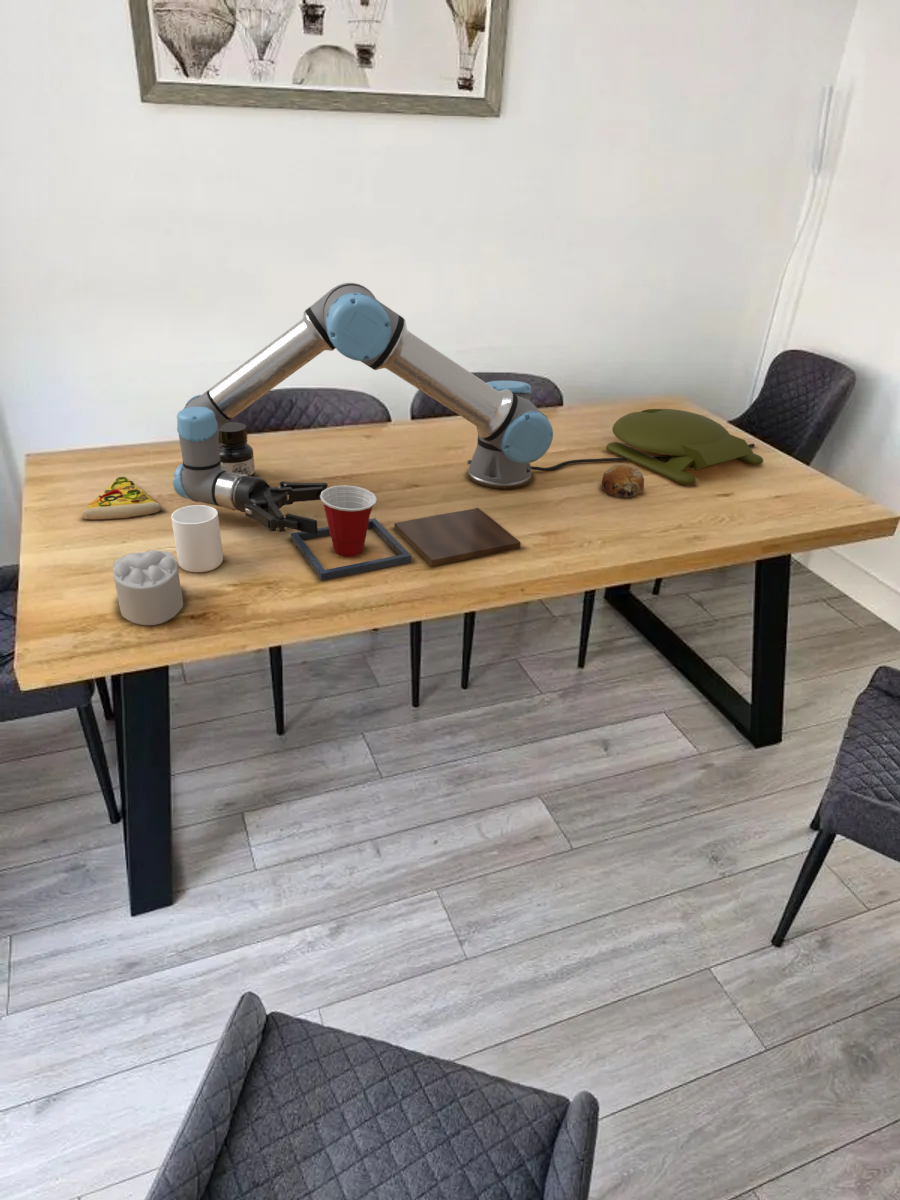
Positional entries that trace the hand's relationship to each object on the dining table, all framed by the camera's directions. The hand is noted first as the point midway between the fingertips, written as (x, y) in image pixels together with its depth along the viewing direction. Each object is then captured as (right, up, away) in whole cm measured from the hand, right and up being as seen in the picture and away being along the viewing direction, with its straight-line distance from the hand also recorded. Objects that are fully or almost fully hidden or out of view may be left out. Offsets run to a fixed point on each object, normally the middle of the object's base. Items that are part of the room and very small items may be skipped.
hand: (334, 513), depth 160 cm
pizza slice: (-49, +5, +20) cm, 53 cm away
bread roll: (+63, +9, +34) cm, 72 cm away
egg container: (-29, -18, -17) cm, 39 cm away
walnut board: (+24, -4, +9) cm, 26 cm away
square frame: (+3, -7, +3) cm, 8 cm away
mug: (-26, -9, -2) cm, 28 cm away
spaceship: (+82, +21, +56) cm, 102 cm away
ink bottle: (-28, +12, +33) cm, 45 cm away
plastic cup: (+3, -7, +3) cm, 8 cm away
